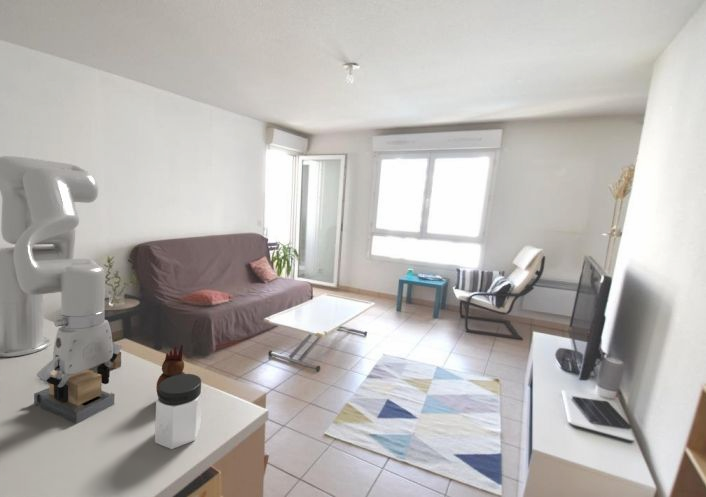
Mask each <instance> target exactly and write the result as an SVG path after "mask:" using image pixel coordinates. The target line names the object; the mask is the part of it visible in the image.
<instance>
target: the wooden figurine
mask: <svg viewBox="0 0 706 497" xmlns="http://www.w3.org/2000/svg"><path fill="white" fill-rule="evenodd" d="M183 351H184V344H183V343H182V344H181V346H180V348H179V351H178V350H177V346H174V349H173V350H170V351H169V353H166V355H165V359H164V361H163V362H162V365H161V371H162V373H161V374H160V375H159V377H158V379H157V382H156V386H155V387H156V388H155V389H156V393H157V394H156V395H157V396H158V389H159V385H160V383H161V382H162V381H164V380H165V379H167V378H169V377H171V376H175V375H179V374H186V373H185V371H184V368H185V362H184V359H183Z"/></svg>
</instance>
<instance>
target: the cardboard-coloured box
mask: <svg viewBox="0 0 706 497" xmlns="http://www.w3.org/2000/svg"><path fill="white" fill-rule="evenodd" d="M56 372H57V371H55V370H54V371H52V372H51V373H50V375H51V376H52V377H54V375H55V374H56ZM60 379H61V378H60ZM65 384H66V385H68V402H70V403H72V404H75V405H77V406H78V405H80V404H83V403H85V402H87V401H89V400H91V399H93V398H95V397H97V396H99V395H101V390H102V386H103V383H102V375H101V374H98V373H97V372H96V371H92V370H91V369H90V370H85V371H82V372H79V373H77V374H74V375H70V377H69V378H68V380H67V382H66V383H65ZM48 385H49V386H48V388H49V394H51V395H54V385H53V384H50V383H48ZM102 391H103V390H102Z"/></svg>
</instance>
